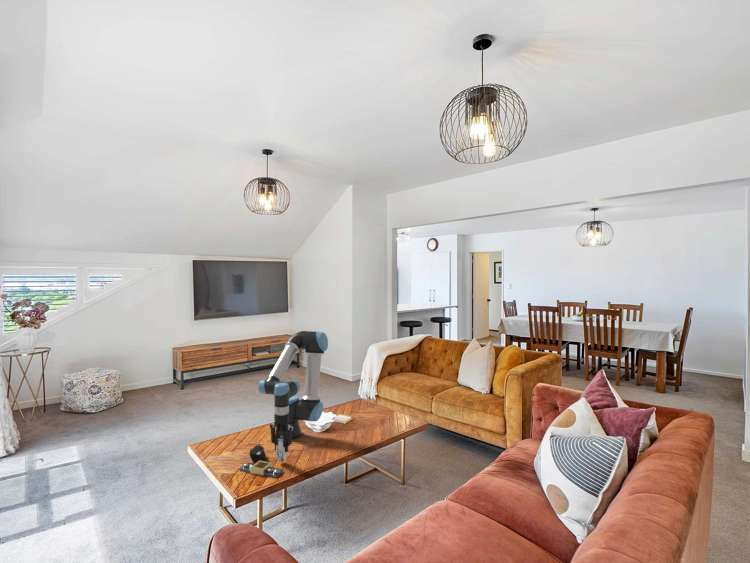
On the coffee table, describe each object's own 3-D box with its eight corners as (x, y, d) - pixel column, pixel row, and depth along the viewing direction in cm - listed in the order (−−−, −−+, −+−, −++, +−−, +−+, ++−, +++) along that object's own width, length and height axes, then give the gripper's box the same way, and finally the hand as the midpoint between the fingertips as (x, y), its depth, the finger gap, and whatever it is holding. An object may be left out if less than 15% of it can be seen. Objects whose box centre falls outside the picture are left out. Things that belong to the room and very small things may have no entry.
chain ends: (248, 463, 203) (248, 458, 203) (284, 471, 196) (284, 465, 196) (238, 470, 196) (238, 464, 196) (275, 478, 189) (275, 472, 189)
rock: (272, 456, 213) (272, 445, 213) (263, 463, 204) (263, 452, 204) (255, 454, 215) (255, 443, 215) (246, 461, 207) (246, 450, 207)
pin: (280, 457, 207) (280, 435, 207) (287, 458, 206) (287, 436, 205) (275, 461, 203) (275, 438, 203) (282, 462, 202) (282, 439, 202)
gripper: (263, 413, 203) (263, 457, 204) (291, 417, 198) (291, 463, 198) (272, 408, 210) (272, 451, 211) (299, 412, 205) (299, 456, 205)
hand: (281, 457), depth 204 cm, fingers closed on pin, 4 cm apart
